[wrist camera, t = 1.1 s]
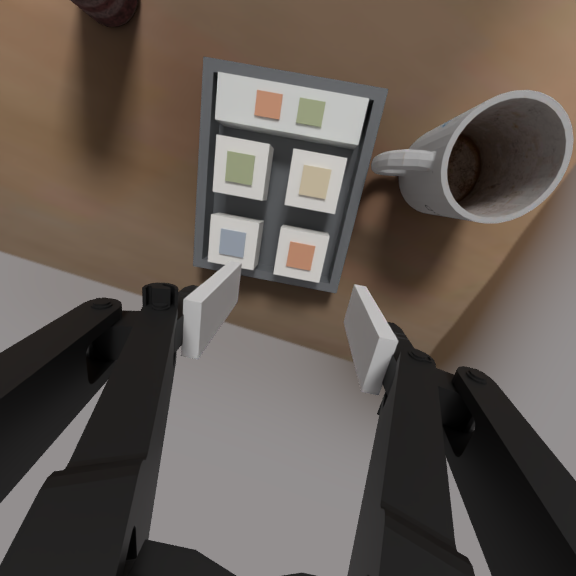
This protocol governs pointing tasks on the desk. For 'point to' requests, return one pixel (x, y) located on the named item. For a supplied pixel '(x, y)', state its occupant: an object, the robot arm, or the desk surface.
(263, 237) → the keypad
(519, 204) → the mug
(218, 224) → the key slate
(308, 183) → the key sand
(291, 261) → the key rust
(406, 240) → the desk surface
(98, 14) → the can
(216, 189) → the key olive
